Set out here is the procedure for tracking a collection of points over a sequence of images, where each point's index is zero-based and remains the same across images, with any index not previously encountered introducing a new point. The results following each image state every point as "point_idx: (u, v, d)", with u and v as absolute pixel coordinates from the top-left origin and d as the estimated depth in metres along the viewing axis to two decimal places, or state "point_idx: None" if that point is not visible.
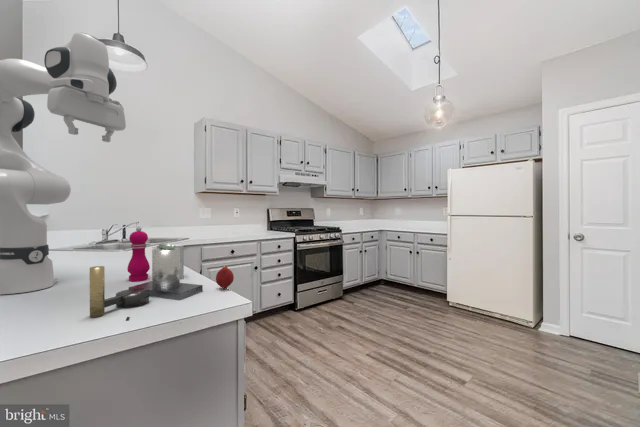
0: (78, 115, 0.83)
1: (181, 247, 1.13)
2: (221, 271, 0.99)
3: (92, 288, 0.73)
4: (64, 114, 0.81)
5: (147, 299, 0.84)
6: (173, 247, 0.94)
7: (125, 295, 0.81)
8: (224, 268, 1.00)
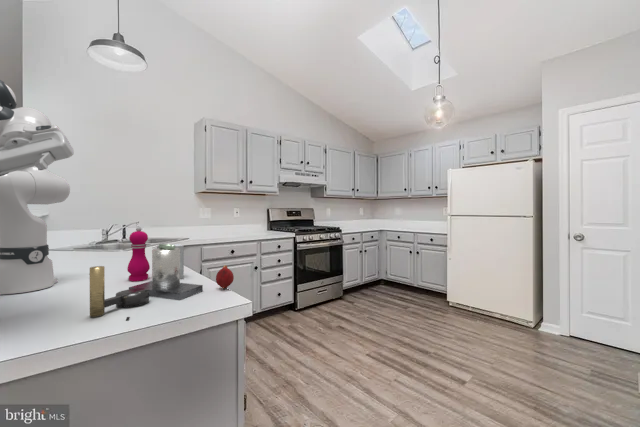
0: None
1: (181, 247, 1.13)
2: (221, 271, 0.99)
3: (92, 288, 0.73)
4: (58, 156, 0.71)
5: (147, 299, 0.84)
6: (173, 247, 0.94)
7: (125, 295, 0.81)
8: (224, 268, 1.00)
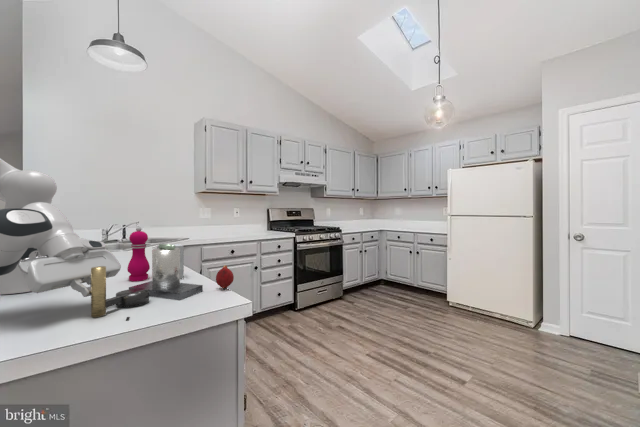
0: None
1: (181, 247, 1.13)
2: (221, 271, 0.99)
3: (94, 288, 0.73)
4: (109, 275, 0.83)
5: (147, 298, 0.84)
6: (173, 247, 0.94)
7: (126, 295, 0.81)
8: (224, 268, 1.00)
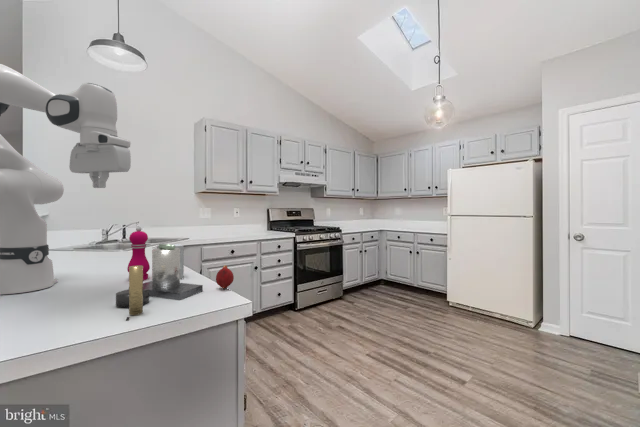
0: None
1: (181, 247, 1.13)
2: (221, 271, 0.99)
3: (138, 286, 0.75)
4: (120, 171, 0.86)
5: None
6: (173, 247, 0.94)
7: None
8: (224, 268, 1.00)
